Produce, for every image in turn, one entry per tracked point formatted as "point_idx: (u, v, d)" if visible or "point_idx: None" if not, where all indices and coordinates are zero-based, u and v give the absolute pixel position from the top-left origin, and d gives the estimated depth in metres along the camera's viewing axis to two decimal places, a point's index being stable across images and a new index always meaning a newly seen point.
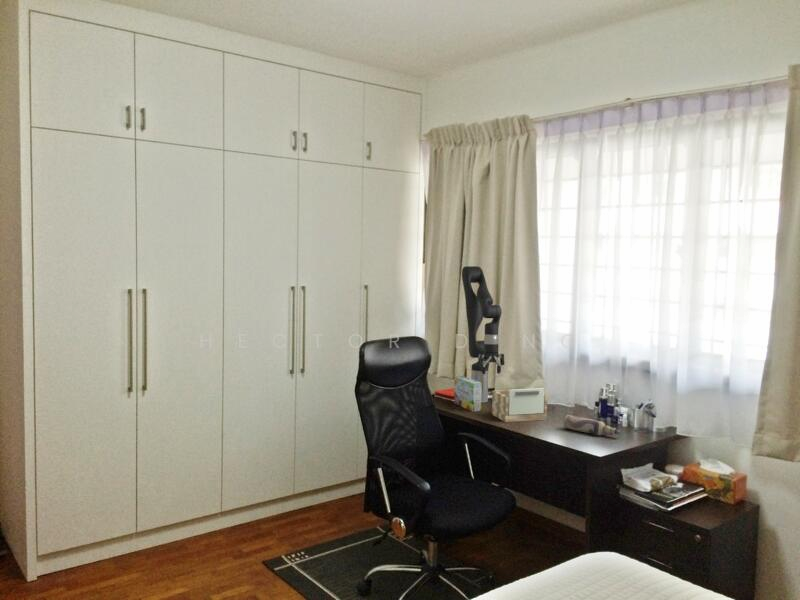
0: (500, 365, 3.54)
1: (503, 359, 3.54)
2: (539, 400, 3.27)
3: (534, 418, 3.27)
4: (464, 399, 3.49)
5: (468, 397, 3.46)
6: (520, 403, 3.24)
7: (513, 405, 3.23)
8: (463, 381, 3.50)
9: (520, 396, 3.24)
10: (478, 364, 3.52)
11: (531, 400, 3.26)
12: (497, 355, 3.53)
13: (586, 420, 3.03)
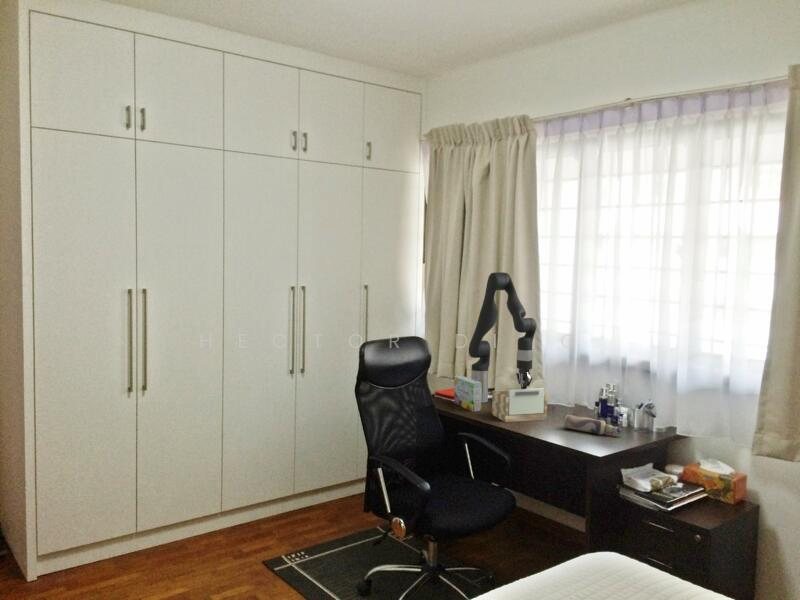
0: None
1: None
2: (539, 400, 3.27)
3: (534, 418, 3.27)
4: (464, 399, 3.49)
5: (468, 397, 3.46)
6: (520, 403, 3.24)
7: (513, 405, 3.23)
8: (463, 381, 3.50)
9: (520, 396, 3.24)
10: (525, 385, 3.25)
11: (531, 400, 3.25)
12: None
13: (587, 419, 3.04)
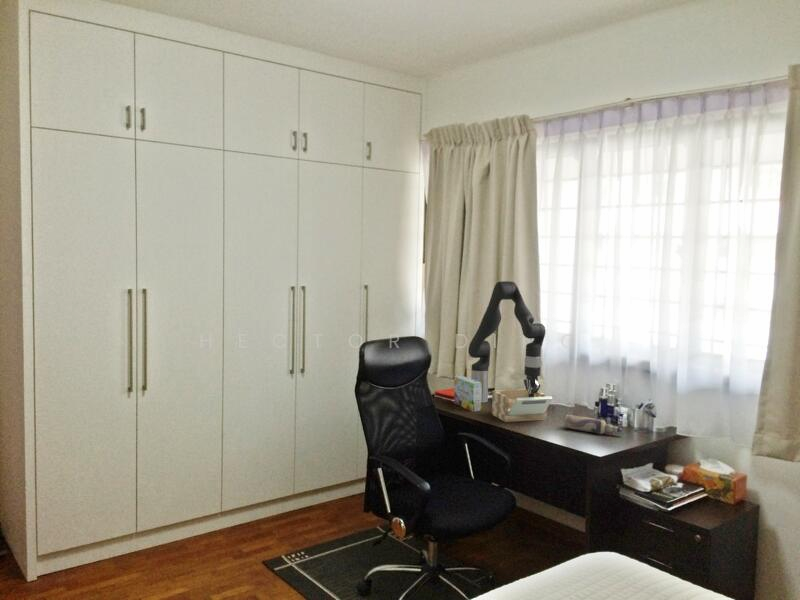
0: None
1: None
2: (543, 405, 3.23)
3: (534, 418, 3.27)
4: (464, 399, 3.49)
5: (468, 397, 3.46)
6: (523, 408, 3.20)
7: (516, 409, 3.20)
8: (463, 381, 3.50)
9: (526, 404, 3.18)
10: (533, 392, 3.17)
11: (535, 406, 3.21)
12: None
13: (587, 419, 3.05)
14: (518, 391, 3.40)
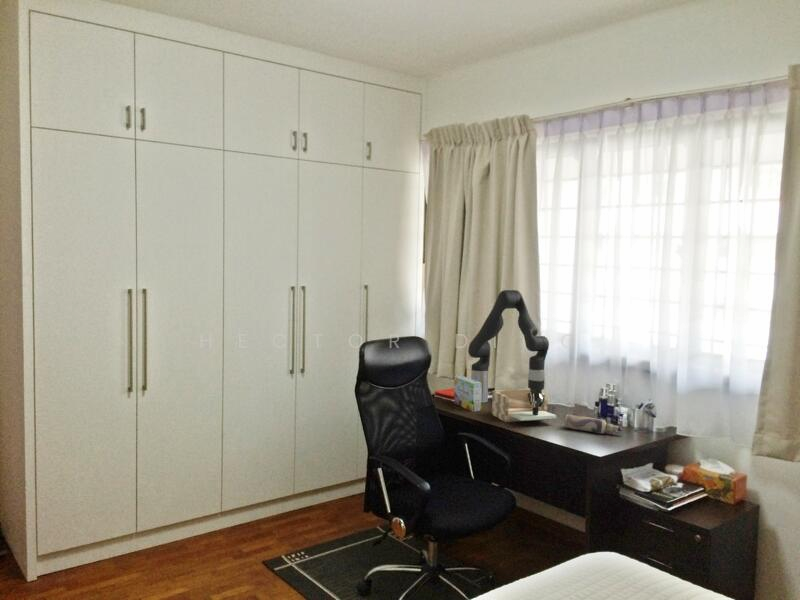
0: None
1: None
2: None
3: None
4: (464, 399, 3.49)
5: (468, 397, 3.46)
6: None
7: None
8: (463, 381, 3.50)
9: None
10: (537, 406, 3.13)
11: None
12: None
13: (588, 419, 3.06)
14: (518, 391, 3.40)
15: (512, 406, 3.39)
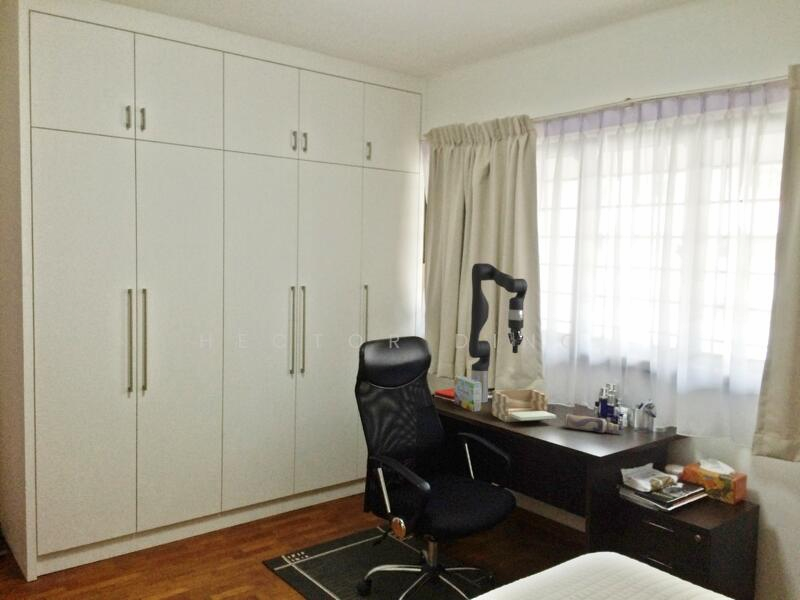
0: None
1: None
2: None
3: None
4: (464, 399, 3.49)
5: (468, 397, 3.46)
6: None
7: None
8: (463, 381, 3.50)
9: None
10: (517, 344, 3.33)
11: None
12: None
13: (588, 418, 3.07)
14: (518, 391, 3.40)
15: (512, 406, 3.39)
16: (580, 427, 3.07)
